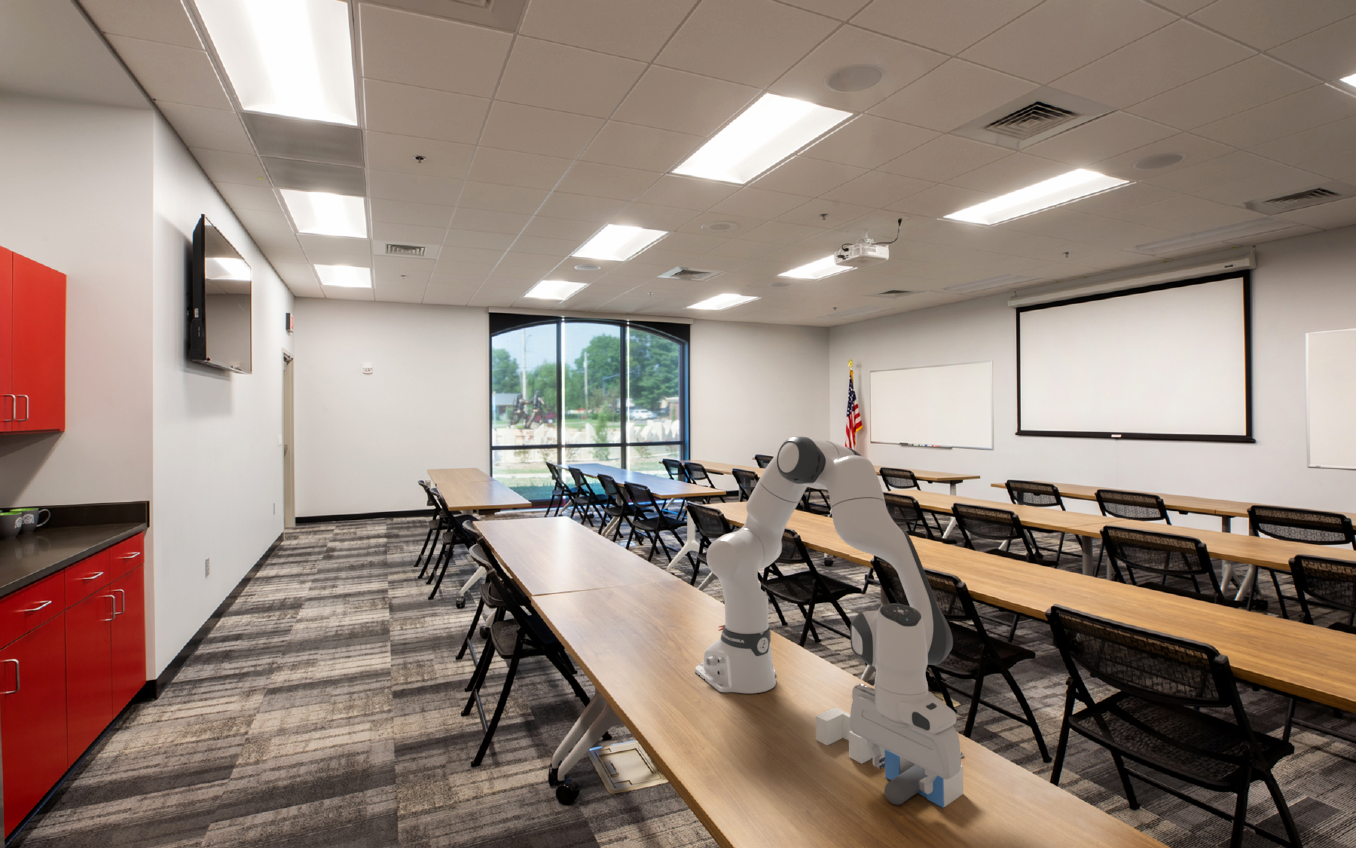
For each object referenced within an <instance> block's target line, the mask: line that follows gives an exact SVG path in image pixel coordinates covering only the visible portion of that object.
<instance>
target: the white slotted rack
mask: <svg viewBox="0 0 1356 848" xmlns="http://www.w3.org/2000/svg"><path fill="white" fill-rule="evenodd" d="M841 739H844V740H846V741H848V756H849V758H850V759H852V760H854V761H856V762H857V763H859V764H863V763H866V762H868V761H870V760H871V759H873V756H872V755H871V753H870V750H869V748H868V746H867V740H866V739H864V738H862V737H860V736H858V735H856V734H854V733H853V732H852V730H851V727H850V713H848V712H846V711H845V710H842V709H840V708H838V707H832V708H830V709H828V710H826V711H825V710H824V711H823V712H821V713H818V714H817V715H815V740H816V741H818V742H820V743H821V744H823V745H825V746H829V745H832V744H833V743H836V742H838V741H839V740H841ZM879 749H880V752H881V755H883V756H885V766H884V776H885V778H886V779H887V780H890V781H891V780H893V779H894V778H896V777H897V776H899V775H900V774H902V773H903V772H905V771H906V770H908V769H909V768H911V767H912V766H914V765H915V764H914V763H912V762H910V761H908V760H906V759H904V758H902V757H900V756H898V755H896V754H894V753H892V752H890V751H888V750H886V749H884V748H882V747H880V746H879ZM927 777H928V775H927ZM916 794H919V795H921V796H923V797H925V798H926V800H928V801H929V802H932V803H933V804H935V805H937V806H939V807H940V808H943V809H944V808H945V807H947V806H948V805H950V804H951V803H953V802H954V801H955V800H957V799H958V798H960V797H961V796H962V795H964V766H963V765H962V764H961V768H960V771H959V772H958V773H957V774H956V775H954V776H953V777H951V778H949V779H944V778H942V777H940V776H937V777H936V779H935V780H934V781H933V790H932V792H931V793H930V794H926V793H924V792H923V791H921V790H920V791H919V792H917V793H916Z"/></svg>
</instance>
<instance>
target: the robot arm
mask: <svg viewBox="0 0 1356 848" xmlns="http://www.w3.org/2000/svg"><path fill="white" fill-rule="evenodd" d="M807 488H811V489H812V488H813V489H816V490H827V492H828V495H829V503H830V510H831V515H832V516H831V517H832V522H833V526H834V530H835V532H836V534H837V535H838V537H839V538H840V539H841V540H842V541H843V542H844V543H846V544H847V546H849V547H851V548H853V549H855V550H857V551H859V552H863V553H866V554H869V555H872V556H874V557H877V558H880V559H881V560H884V561H886V562H887V563H889V564H890V565H891V566H892V567H893V568H894V570H895V571H896V573H897V574H898V578H899V580H900V583H901V585H902V588H903V590H904V595H905V596H906V599H907V601H908V602H907V603H908V604H909V605H907V604H902V603H894V602H893V603H887V604H883V605H881V606H880V607H878V610H867V611H863V612H862V611H861V612H859V613H858V614H857V615H855V617H854V619H853V620H852V622H851V623H850V628H849V631H850V632H849V633H850V634H849V635H850V637H849V639H850V640H849V641H850V648H851V651H852V653H854V655H855V656H856V657H857V658H859V659H860V660H861V661H863V662H864V663H865V664H866V665H868V666H872V667H873V668H875V672H876V673H875V678H874V688H872V687H870V686H867V685H866V684H865V683H864V684H863V683H858V684H856V685H854V686H853V688H852V701H851V706H850V713H849V714H850V727H851V730H852V732H853V733H854V734H856V735H858V736H860V737H862V738H864V739H866V740H867V746H868V748H869V750H870V753H871V755H872V756H873V758H872V765H873V766H874V767H876V768H878V769H880V770H881V769H882V768H885V756H883V755H881V752H880V749H879V746H880V747H882V748H884V749H886V750H888V751H890V752H892V753H894V754H896V755H898V756H900V757H902V758H904V759H906V760H908V761H910V762H912V763H914V764H916V765H918V766H920V767H922V768H924V769H925V775H928V777H927V778H926V777H925V778H923V779H921V780H920V781H919V785H920V787H919V790H921V791H923V792H924V793H926V794H930V793H931V792H932V790H933V781H934V780H935V779H936V777H937V776H940V777H942V778H944V779H949V778H951V777H953V776H954V775H956V774H957V773H958V772H959V771H960V768H961V765H962V758H961V752H962V751H961V743H960V738H959V735H958V732H957V730H956V729H955V727H954V724H956V722H957V713H956V711H954V710H953V709H952V708H951V707H949V706H948V705H946V704H945V703H944V702H943V701H941V700H940V699H939V698H937V697H936V696H935V695H934V694H933V693H932V692H931V691H929V685H928V684H929V683H928V681H927V677H926V670H927V667H928V665H931V666H932V665H933V666H937V665H940V664H942V662H944V661H945V659H946V658H947V657H948V656H949V654H950V652H951V651H952V649H953V645H954V643H953V642H954V639H953V634H952V630H951V627H950V626H949V623H948V620H947V619H946V618H945V616H944V614H943V611H942V610H941V609H940V607H939V604H938V602H937V600H936V597H935V595H934V591H933V589H932V587H931V585H930V583H929V580H928V577H927V574H926V572H925V569H924V567H923V564H922V560H921V559H920V557H919V554H918V552H917V551H918V550H917V549H916V547H915V545H914V542H913V540H912V538H911V537H910V535H909V533H908V532H907V531H906V530H904V529H903V528H901V527H899V526H898V525H897V523H896V522H895V521H894V519H893V518H892V517H891V514H890V513H889V510H888V508H887V506H886V504H887V503H886V501H885V496H884V492H883V488H882V486H881V481H880V479H879V476H878V473H877V471H876V469H875V466H874V464H873V463H872V461H870V460H869V459H868V458H866V457H865V456H863V455H861V454H860V453H859V452H858V451H856V450H855V449H853V448H851V447H848V446H843V445H841V444H838V443H836V442H833V441H828V440H820V439H816V438H815V439H814V438H809V437H805V436H794V437H793V436H792V437H789V438H787V439H786V440H785V441H783V443H782V444H781V446H780V447H779V449H778V452H776V454H775V455H774V456H773V457H772V459H771V460H770V462H769V463H768V465H767V466H766V467H765V469H764V470H763V472H762V474H761V476H760V478H759V479H758V480H757V483H756V485H755V487H754V489H753V490H752V492H751V494H750V495H749V498H748V500H747V502H746V505H745V508H746V512H747V515H746V520H745V523H744V524H743V526H742V527H741V528H740V529H739V530H736V531H732V532H729V533H725V534H723V535H721V536H720V537H718V538H716V539H715V540H714V541H712V542H711V544H710V545H708V548H707V551H706V563H707V567H708V568H709V570H710V571H711V573H713V574H714V575H715V576H716V578H717V579H718V580H719V583H720V586H721V590H722V593H723V594H722V595H723V599H724V600H723V601H724V624H723V625H719V626H718V628H719V629H718V632H720V631H721V635H720V638H718V639H717V640H716V641H714V642H713V643H711V644H710V645H708V647H707V648H706V649H705V651H704V655H703V662H701V663H700V664H697V665H696V666H695V668H694V672H695V673H696V674H697V675H698V676H699V675H700V676H699V677H700V678H702V679H703V680H704V679H705V682H707V683H708V684H709V685H710V686H711V687H713V688H714V689H715V690H717V691H718V692H720V693H738V694H739V693H740V694H757V693H763V692H764V693H765V692H767V691H769V690H772V689H773V688H774V687H775V686H776V685H777V679H776V674H777V673H776V668H774V661H773V654H772V647H771V640H772V639H771V638H772V637H771V635H772V631H771V627H770V625H769V597H768V595H767V594H766V592H765V591H763V589H761V585H760V582H759V577H758V573H759V572H758V571H760V570H762V569H764V568H767V567H769V566H770V565H772V564H773V563H774V562H775V561H777V559H778V558H779V557H780V555H781V553H782V549H783V543H782V539H783V535H784V533H785V529H786V527H787V524H788V523H789V520H790V518H791V517H792V515H793V514H794V512H795V510H796V508H797V506H798V504H799V503H800V500H801V499H802V497H803V496H804V493H805V491H806V490H807Z"/></svg>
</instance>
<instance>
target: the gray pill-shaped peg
mask: <svg viewBox="0 0 1356 848" xmlns="http://www.w3.org/2000/svg"><path fill="white" fill-rule="evenodd" d="M925 777H926V778H927V775H925V769H924V768H922V767H920V766H918V765H916V764H915V765H914V766H912V767H911V768H909V769H908V770H906V771H905V772H903V773H902V774H900V775H899V776H897V777H896V778H894V779H893V780H890V781H888V782H887V783H886V784H885V786H884V794H885V797H886V799H887V801H888V802H889V803H891V804H894V805H896V806H897V805H902V804H903V803H904V802H906V801H908V800H909V799H911V798H912V797H913V796H915V795H916V794H918V793H917V792H919V791H920V790H919V787H920V785H919V781H920V780H921V779H923V778H925Z"/></svg>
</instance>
